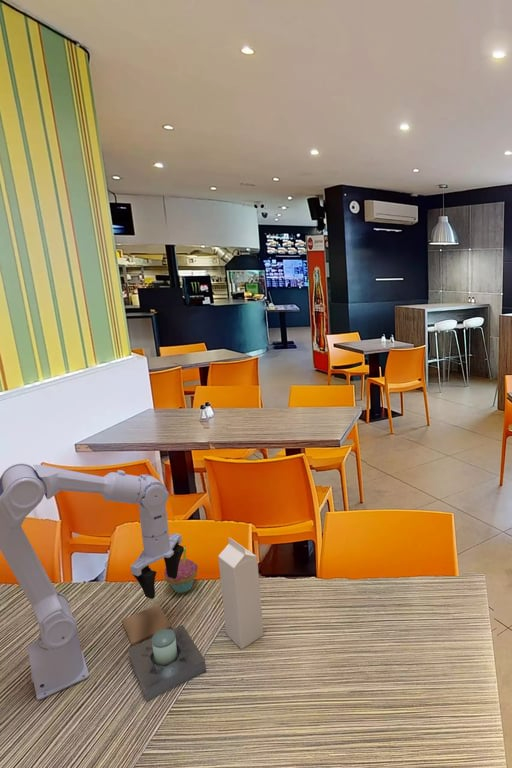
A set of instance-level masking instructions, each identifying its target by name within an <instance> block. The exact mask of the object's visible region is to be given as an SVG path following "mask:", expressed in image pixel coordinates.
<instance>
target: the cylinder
mask: <svg viewBox="0 0 512 768" xmlns="http://www.w3.org/2000/svg"><path fill="white" fill-rule="evenodd" d="M151 639H152V646H153V653H154V661H155V662H154V665H157V666H164V667H165V666H167V665H169V664H171V663H173V662H175V661H177V659H178V657H179V655H178V654H177V646H176V638H175V633H174V631H173V630H172V628H171V629H162V630H159V631H158V632H156V633H155V634H154V635H153V637H151Z"/></svg>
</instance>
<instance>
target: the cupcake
mask: <svg viewBox="0 0 512 768" xmlns="http://www.w3.org/2000/svg"><path fill="white" fill-rule="evenodd" d="M186 545H187V544H185V545H184V546H183V547H184V551H183V553H182V558H180V562H179V566H178V572H177V578H176V579H173V578H170V577H168V575H167V571H166V568H164V572H163V575H164V581H165V582H167V583H168V584H170V586H171V587H172V589H173V591H174V592H175V593H177V594H183V593H187V592H189V591H190V590H191V589H192V587H193V584H194V583H193V582H194V579H195V578H196V577H197V574H198V569H199V567H198V565H197V563H196V562H194V560H190V559H188V558H186V557H187V546H186Z"/></svg>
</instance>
